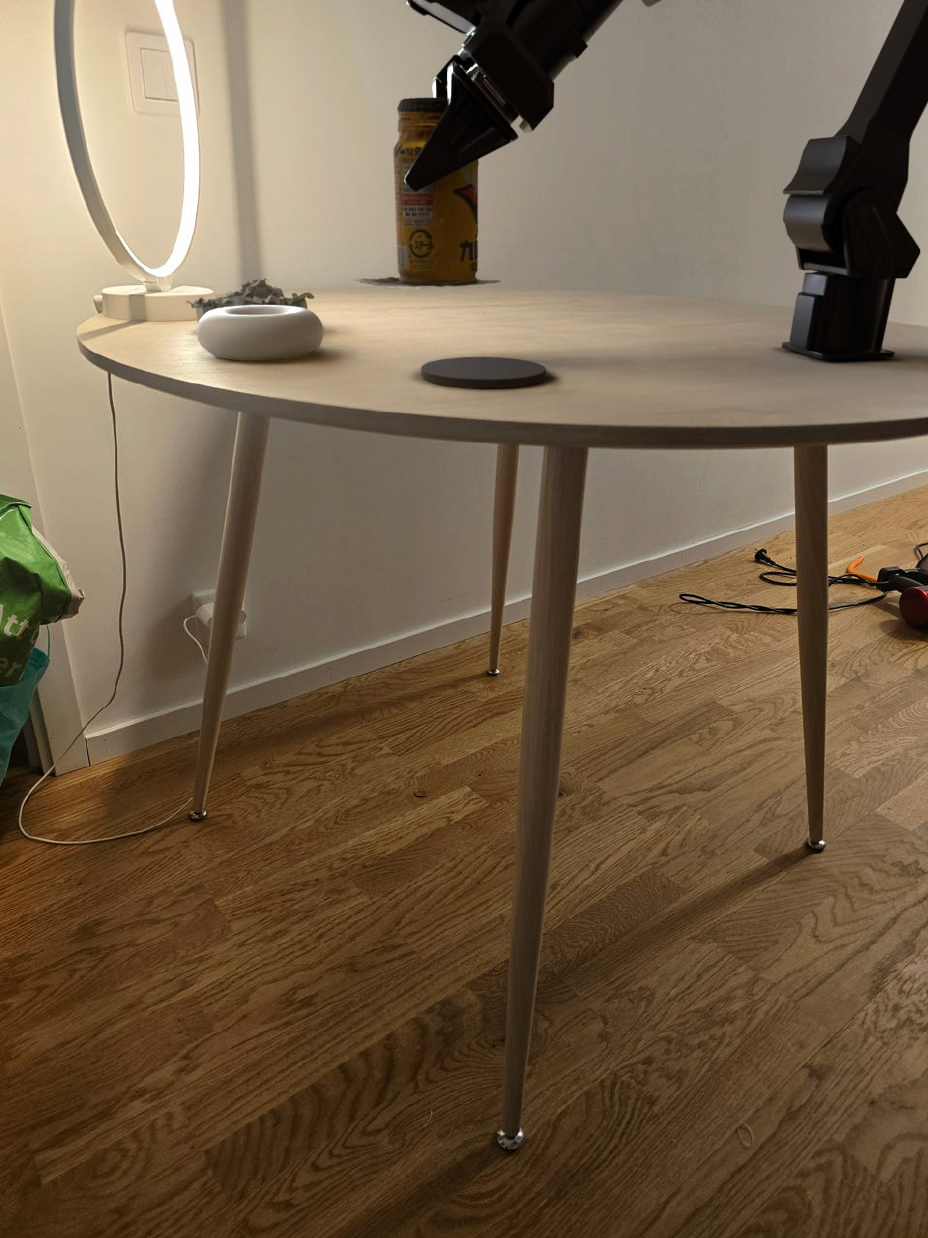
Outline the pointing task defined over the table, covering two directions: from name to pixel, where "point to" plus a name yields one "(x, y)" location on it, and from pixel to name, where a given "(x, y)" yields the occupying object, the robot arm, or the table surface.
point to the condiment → (432, 211)
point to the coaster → (483, 372)
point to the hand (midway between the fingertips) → (405, 186)
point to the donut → (259, 332)
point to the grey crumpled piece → (251, 298)
